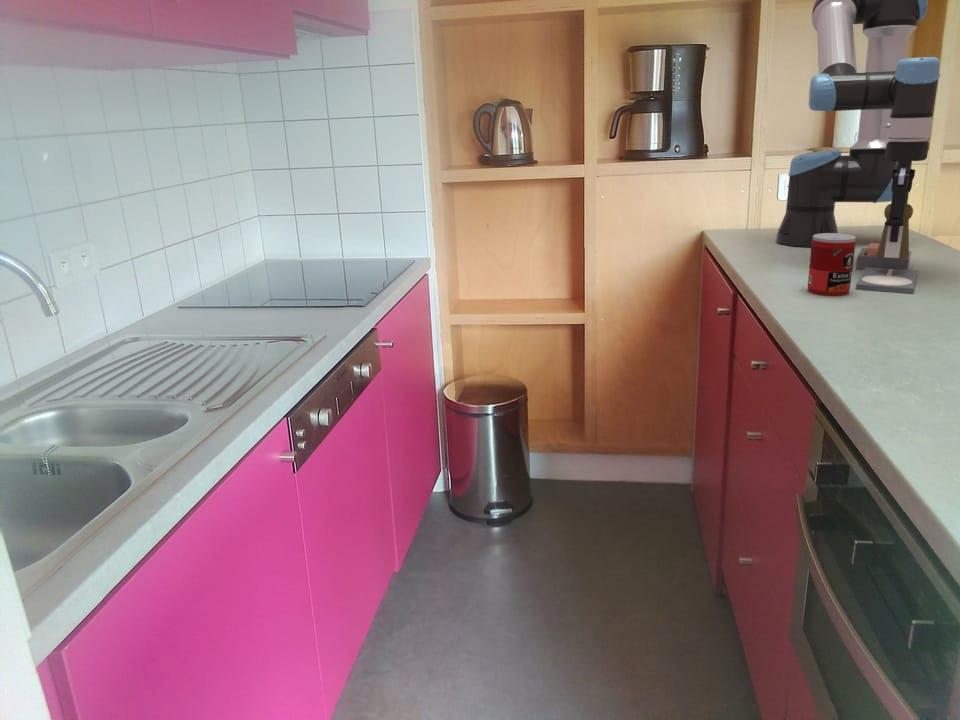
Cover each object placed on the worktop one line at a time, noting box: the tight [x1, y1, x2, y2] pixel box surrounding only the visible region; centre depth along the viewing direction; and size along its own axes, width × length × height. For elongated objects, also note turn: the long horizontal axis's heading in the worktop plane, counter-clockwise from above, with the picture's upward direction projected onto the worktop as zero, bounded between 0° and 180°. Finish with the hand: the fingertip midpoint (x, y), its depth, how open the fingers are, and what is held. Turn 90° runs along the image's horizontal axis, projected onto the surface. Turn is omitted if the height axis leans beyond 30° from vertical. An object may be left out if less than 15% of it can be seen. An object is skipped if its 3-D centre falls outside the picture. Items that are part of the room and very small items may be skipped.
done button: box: [866, 242, 880, 256], centre depth 170 cm, size 7×7×3 cm
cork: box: [876, 203, 914, 259], centre depth 159 cm, size 6×6×11 cm
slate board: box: [855, 267, 919, 294], centre depth 157 cm, size 18×10×1 cm, turn 149°
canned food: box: [807, 232, 857, 297], centre depth 150 cm, size 8×8×11 cm
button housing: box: [855, 247, 912, 271], centre depth 171 cm, size 10×10×3 cm
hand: (892, 254), depth 160 cm, fingers closed on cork, 6 cm apart
